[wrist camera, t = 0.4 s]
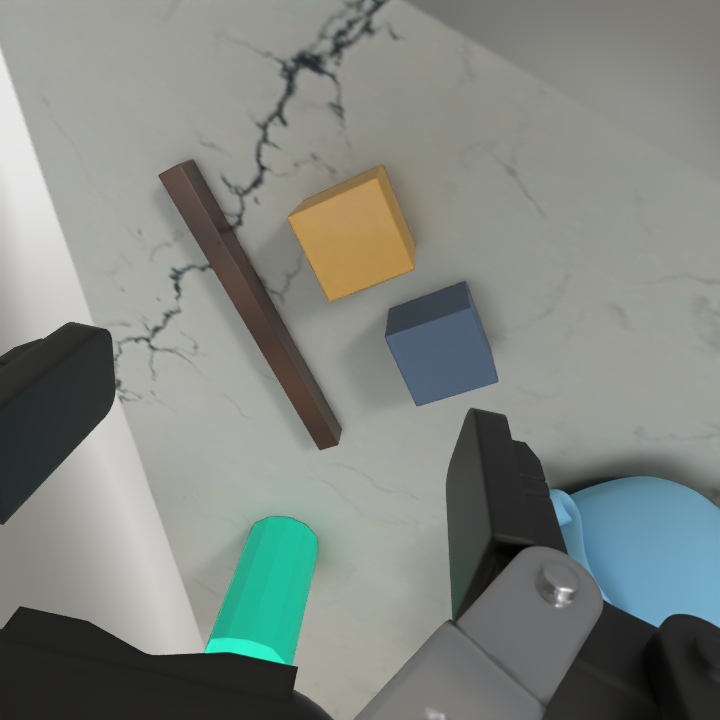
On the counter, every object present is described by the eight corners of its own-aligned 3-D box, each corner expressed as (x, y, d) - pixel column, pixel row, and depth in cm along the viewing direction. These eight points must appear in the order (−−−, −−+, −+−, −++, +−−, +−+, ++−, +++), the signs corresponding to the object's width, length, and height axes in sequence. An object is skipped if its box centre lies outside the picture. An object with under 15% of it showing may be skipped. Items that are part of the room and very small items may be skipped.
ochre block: (302, 200, 29) (286, 217, 26) (383, 164, 28) (377, 176, 24) (339, 277, 31) (328, 303, 28) (416, 247, 30) (415, 270, 26)
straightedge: (171, 170, 29) (157, 175, 28) (193, 159, 29) (179, 163, 27) (323, 435, 37) (319, 450, 36) (342, 429, 37) (338, 445, 35)
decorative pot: (666, 620, 43) (760, 826, 31) (477, 584, 43) (499, 776, 31) (772, 476, 35) (952, 681, 23) (539, 433, 35) (599, 615, 23)
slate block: (388, 308, 32) (384, 337, 28) (465, 280, 30) (471, 306, 27) (417, 373, 34) (416, 407, 30) (491, 349, 32) (499, 382, 29)
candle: (302, 510, 41) (260, 657, 31) (329, 560, 44) (299, 711, 33) (237, 522, 43) (176, 666, 32) (267, 570, 45) (219, 717, 35)
